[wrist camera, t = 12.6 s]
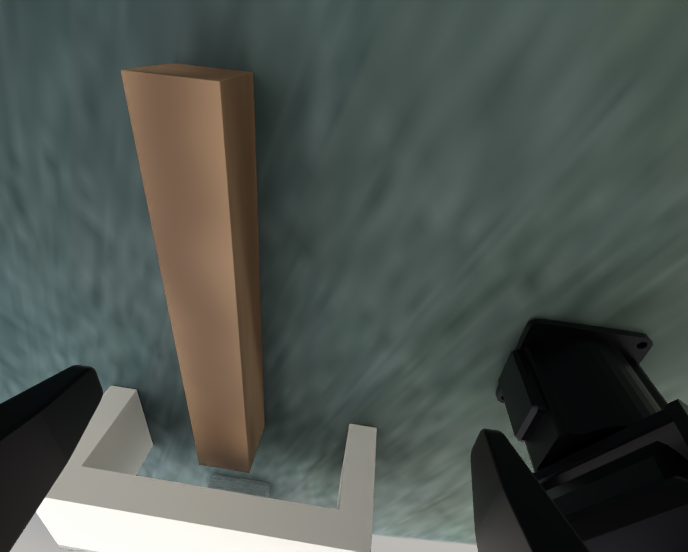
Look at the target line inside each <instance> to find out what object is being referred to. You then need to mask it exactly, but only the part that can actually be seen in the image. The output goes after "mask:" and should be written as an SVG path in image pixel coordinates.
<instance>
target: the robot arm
mask: <svg viewBox="0 0 688 552" xmlns="http://www.w3.org/2000/svg"><path fill="white" fill-rule="evenodd" d="M536 327H540V328H538V329H535V328H536ZM640 342H641V343H640ZM638 343H639V344H638ZM652 345H653V343H652V341H651V339H650V338H649V337H648V336H647V335H646V334H643V333H636V332H629V331H622V330H615V329H608V328H601V327H594V326H587V325H580V324H573V323H566V322H559V321H552V320H546V319H533V320H531V321H529V322H528V324H527V325H526V327H525V330H524V332H523V334H522V336H521V338H520V340H519V342H518V345H517V347H516V349H514V350H513V351H512V352H511V354H510V356H509V358H508V360H507V362H506V365H505V367H504V369H503V371H502V373H501V376H500V378H499V386H498V388H497V390H496V396H497V399H498V401H500V402H502V403H505V405H506V408H507V411H508V415H509V418H510V422H511V425H512V428H513V432H514V435H515V437H516V438H517V439H518V441H522V442H525V444H526V447H527V450H528V453H529V456H530V459H531V463H532V466H533V469H534V473H532V472H531V471H530V469H529V468H528V466H527V465H526V464H525V462H524V461H523V460H522V458H521V457H520V456H519V454H518V453H517V452H516V450H515V449H514V447H513V446H512V445H511V443H510V442H509V441H508V439H507V438H506V437H505V435H504V434H503V433H502V432H500V431H498V430H491V429H482V430H481V431H480V433H479V435H478V437H477V440H476V442H475V444H474V446H473V448H472V451H471V474H472V491H473V508H474V523H475V534H476V541H477V548H478V552H688V406H687V405H686V404H685V403H683V402H682V401H681V400H679V399H677V400H675V401H673V402H671V403H669V404H667V402H666V401H665V400H664V398H663V397H662V396H661V394H660V393H659V391H658V390H657V389H656V387H655V386H654V385H653V383H652V382H651V381H650V379H649V378H648V376H647V375H646V374H645V372H644V371H643V370H642V368H641V367H640V366H639V363H640V362H641V361H642V359H643V358H644V357H645V355H646V354H647V352H648V351H649V350H650V348H651V347H652ZM102 395H103V390H102V387H101V384H100V381H99V378H98V376H97V373H96V371H95V369H94V368H92V367H88V366H82V365H74V366H71V367H69V368H67V369H65V370H63V371H61V372H59V373H58V374H56V375H54V376H52V377H50V378H48V379H46V380H44V381H42V382H41V383H39V384H37V385H35V386H33V387H31V388H29V389H27V390H25V391H24V392H22V393H20V394H18V395H16V396H14V397H12V398H10V399H8V400H7V401H5V402H3V403H1V404H0V552H9V551H10V550H11V549H12V547H13V546H14V544H15V543H16V541H17V539H18V538H19V536H20V535H21V533H22V532H23V530H24V529H25V527H26V526H27V524H28V523H29V521H30V520H31V518H32V517H33V515H34V513H35V512H36V511H37V509H38V508H39V506H40V504H41V503H42V501H43V500H44V498H45V497H46V495H47V494H48V492H49V491H50V489H51V488H52V486H53V485H54V483H55V482H56V480H57V479H58V477H59V476H60V474H61V472H62V471H63V469H64V468H65V466H66V464H67V463H68V461H69V459H70V458H71V456H72V454H73V452H74V450H75V449H76V447H77V445H78V443H79V441H80V439H81V437H82V435H83V433H84V432H85V430H86V428H87V426H88V424H89V422H90V420H91V418H92V416H93V415H94V413H95V411H96V409H97V407H98V405H99V403H100V401H101V399H102Z"/></svg>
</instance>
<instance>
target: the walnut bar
mask: <svg viewBox="0 0 688 552" xmlns="http://www.w3.org/2000/svg"><path fill="white" fill-rule="evenodd" d="M121 74H122V79H123V84H124V89H125V94H126V99H127V104H128V109H129V114H130V119H131V124H132V129H133V134H134V139H135V144H136V149H137V154H138V159H139V164H140V169H141V174H142V180H143V185H144V190H145V195H146V200H147V205H148V210H149V215H150V220H151V225H152V230H153V235H154V240H155V245H156V250H157V255H158V260H159V265H160V270H161V275H162V280H163V285H164V290H165V295H166V300H167V305H168V310H169V315H170V320H171V325H172V330H173V335H174V340H175V345H176V350H177V355H178V360H179V365H180V370H181V375H182V380H183V385H184V390H185V395H186V400H187V405H188V410H189V415H190V420H191V425H192V430H193V435H194V440H195V445H196V450H197V455H198V460H199V465H205V466H211V467H217V468H223V469H229V470H235V471H242V472H248V473H249V472H250V469H251V466H252V463H253V460H254V457H255V454H256V451H257V448H258V445H259V442H260V439H261V436H262V433H263V430H264V427H265V418H264V387H263V357H262V326H261V295H260V265H259V234H258V204H257V173H256V142H255V112H254V81H253V72H246V71H238V70H229V69H221V68H212V67H204V66H195V65H186V64H178V63H168V64H161V65H153V66H146V67H138V68H131V69H123V70H121Z"/></svg>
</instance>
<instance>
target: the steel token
mask: <svg viewBox="0 0 688 552" xmlns="http://www.w3.org/2000/svg"><path fill="white" fill-rule="evenodd" d="M208 488H213V489H219V490H225V491H230V492H236V493H242V494H248V495H254V496H260V497H266V498H270V491H269V483H267V482H261V481H255V480H249V479H243V478H237V477H231V476H225V475H219V474H213V476H212V479H211V481H210V484H209V486H208Z"/></svg>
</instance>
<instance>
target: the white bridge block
mask: <svg viewBox="0 0 688 552" xmlns="http://www.w3.org/2000/svg"><path fill="white" fill-rule="evenodd" d="M376 434H377V428H375V427H368V426H362V425H356V424H349V429H348V435H347V441H346V448H345V454H344V460H343V466H342V472H341V478H340V486H339V495H338V503H337V509H331V508H325V507H319V506H313V505H307V504H301V503H295V502H289V501H284V500H278V499H272V498H266V497H260V496H254V495H248V494H242V493H236V492H230V491H225V490H219V489H213V488H207V487H201V486H195V485H189V484H183V483H177V482H171V481H166V480H160V479H154V478H148V477H142V476H136V474H137V472H138V471H139V469H140V467H141V465H142V464H143V462H144V460H145V459H146V457H147V455H148V454H149V452H150V450H151V448H152V447H153V443H152V439H151V436H150V433H149V429H148V426H147V423H146V419H145V416H144V412H143V409H142V406H141V402H140V399H139V396H138V392H137V390H136V389H130V388H124V387H117V386H110V387H109V388H108V390H107V391H106V392H105V393H104V395H103V396H102V399H101V401H100V403H99V405H98V407H97V409H96V411H95V413H94V415H93V416H92V418H91V420H90V422H89V424H88V426H87V428H86V430H85V432H84V433H83V435H82V437H81V439H80V441H79V443H78V445H77V447H76V449H75V450H74V452H73V454H72V456H71V458H70V459H69V461H68V463H67V464H66V466H65V468H64V469H63V471H62V472H61V474H60V476H59V477H58V479H57V480H56V482H55V483H54V485H53V486H52V488H51V489H50V491H49V492H48V494H47V495H46V497H45V498H44V500H43V501H42V503H41V504H40V506H39V508H38V509H37V511H36V513H37V514H38V516H39V517H40V519H41V520H42V521H43V523H44V525H45V526H46V527H47V529H48V530H49V532H50V533H51V535H52V536H53V537H54V539H55V541H56V542H57V543H58V545H59V546H60V548H61V549H66V550H72V551H77V552H371V539H372V520H373V498H374V477H375V456H376Z"/></svg>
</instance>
